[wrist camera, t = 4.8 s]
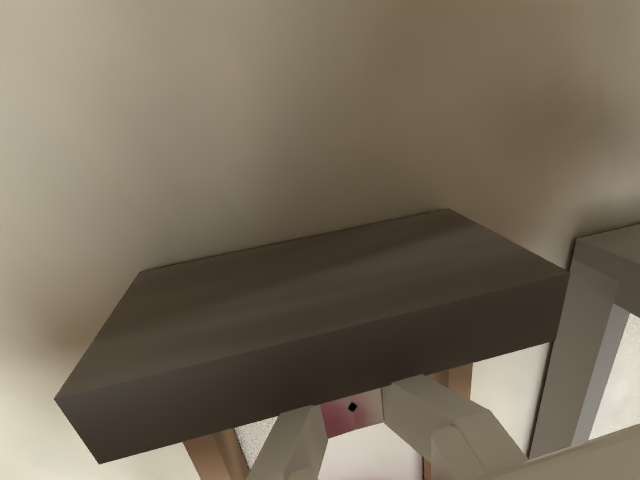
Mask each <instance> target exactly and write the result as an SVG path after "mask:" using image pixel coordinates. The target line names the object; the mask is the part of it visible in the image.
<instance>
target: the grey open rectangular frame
mask: <svg viewBox="0 0 640 480" xmlns="http://www.w3.org/2000/svg"><path fill="white" fill-rule="evenodd" d="M569 272H570V278H569V282H568V287H567V291H566V296H565V300H564V305H563V310H562V314H561V319H560V323H559V328H558V332H557V337H556V340H555V341H554V345H553V350H552V354H551V359H550V363H549V368H548V373H547V377H546V382H545V387H544V391H543V396H542V400H541V405H540V410H539V414H538V419H537V423H536V428H535V433H534V437H533V442H532V446H531V451H530V456H529V460H531V459H534V458H537V457H540V456H543V455H546V454H549V453H552V452H555V451H558V450H561V449H564V448H567V447H570V446H573V445H576V444H579V443H582V442H585V441H588V439H589V436H590V433H591V430H592V427H593V424H594V420H595V417H596V414H597V411H598V408H599V405H600V402H601V399H602V396H603V393H604V390H605V387H606V384H607V381H608V378H609V375H610V372H611V369H612V366H613V363H614V360H615V357H616V354H617V350H618V347H619V344H620V341H621V338H622V335H623V332H624V329H625V326H626V323H627V320H628V317H629V314H630V313H632V314H634V315H636V316H637V317H639V318H640V224H637V225H633V226H629V227H624V228H620V229H616V230H611V231H607V232H602V233H598V234H594V235H589V236H585V237H581V238H577V239H576V244H575V248H574V253H573V258H572V262H571V267H570V271H569Z"/></svg>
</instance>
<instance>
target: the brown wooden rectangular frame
mask: <svg viewBox="0 0 640 480" xmlns="http://www.w3.org/2000/svg"><path fill="white" fill-rule="evenodd" d="M569 278H570V272H568V271H566V270H564V269H563V268H561V267H559V266H557V265H555V264H553V263H551V262H549V261H547V260H545V259H544V258H542V257H540V256H538V255H536V254H534V253H532V252H530V251H528V250H527V249H525V248H523V247H521V246H519V245H517V244H515V243H513V242H511V241H509V240H508V239H506V238H504V237H502V236H500V235H498V234H496V233H494V232H492V231H491V230H489V229H487V228H485V227H483V226H481V225H479V224H477V223H475V222H473V221H472V220H470V219H468V218H466V217H464V216H462V215H460V214H458V213H456V212H454V211H453V210H451V209H449V208H448V209H443V210H438V211H434V212H429V213H424V214H419V215H414V216H409V217H404V218H400V219H395V220H390V221H385V222H380V223H375V224H370V225H366V226H361V227H356V228H351V229H346V230H341V231H336V232H332V233H327V234H322V235H317V236H312V237H307V238H302V239H297V240H293V241H288V242H283V243H278V244H273V245H268V246H263V247H259V248H254V249H249V250H244V251H239V252H234V253H229V254H225V255H220V256H215V257H210V258H205V259H200V260H195V261H191V262H186V263H181V264H176V265H171V266H166V267H161V268H157V269H152V270H147V271H142V272H139V274H138V275H137V277H136V278H135V280H134V281H133V283H132V284H131V286H130V287H129V289H128V290H127V292H126V293H125V295H124V296H123V298H122V299H121V300H120V302H119V303H118V305H117V306H116V308H115V309H114V311H113V312H112V314H111V315H110V317H109V318H108V320H107V321H106V323H105V324H104V326H103V327H102V329H101V330H100V332H99V333H98V334H97V336H96V337H95V339H94V340H93V342H92V343H91V345H90V346H89V348H88V349H87V351H86V352H85V354H84V355H83V357H82V358H81V360H80V361H79V363H78V364H77V366H76V367H75V369H74V370H73V371H72V373H71V374H70V376H69V377H68V379H67V380H66V382H65V383H64V385H63V386H62V388H61V389H60V391H59V392H58V394H57V395H56V397H55V398H54V400H55V401H56V403H57V404H58V406H59V407H60V409H61V410H62V412H63V413H64V414H65V416H66V417H67V419H68V420H69V422H70V423H71V425H72V426H73V427H74V429H75V430H76V432H77V433H78V435H79V436H80V438H81V439H82V440H83V442H84V443H85V445H86V446H87V448H88V449H89V451H90V452H91V453H92V455H93V456H94V458H95V459H96V461H97V462H98V464H103V463H106V462H110V461H114V460H117V459H121V458H125V457H128V456H132V455H136V454H139V453H143V452H147V451H150V450H154V449H158V448H161V447H165V446H169V445H172V444H176V443H180V442H183V444H184V446H185V448H186V450H187V452H188V454H189V456H190V458H191V460H192V462H193V464H194V466H195V468H196V470H197V472H198V474H199V476H200V478H201V480H246V478H247V476H248V474H249V470H248V467H247V464H246V462H245V459H244V457H243V454H242V451H241V449H240V446H239V443H238V441H237V438H236V435H235V433H234V430H233V428H235V427H239V426H242V425H246V424H250V423H253V422H257V421H261V420H264V419H268V418H272V417H275V416H279V414H280V413H283V412H287V411H291V410H294V409H298V408H301V407H305V406H309V405H313V406H316V405H320V404H323V403H327V402H331V401H334V400H338V399H342V398H345V397H349V396H353V395H356V394H360V393H364V392H367V391H371V390H375V389H378V388H382V387H386V386H389V385H392V382H396V381H399V380H403V379H406V378H409V377H413V376H416V375H420V374H423V375H425V376H427V377H428V378H430V379H432V380H434V381H436V382H438V383H440V384H441V385H443V386H445V387H447V388H449V389H451V390H453V391H454V392H456V393H458V394H460V395H462V396H464V397H466V398H467V399H469V400H470V391H471V379H472V367H473V363H474V362H478V361H481V360H485V359H489V358H492V357H496V356H500V355H503V354H507V353H511V352H515V351H518V350H522V349H526V348H529V347H533V346H537V345H540V344H544V343H548V342H551V341H555V340H556V337H557V332H558V328H559V323H560V319H561V314H562V310H563V305H564V300H565V296H566V291H567V287H568V282H569ZM424 480H431V463H430V462H429V461H428V460H426V459H425V458H424Z"/></svg>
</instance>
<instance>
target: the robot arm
mask: <svg viewBox="0 0 640 480" xmlns="http://www.w3.org/2000/svg"><path fill="white" fill-rule="evenodd" d="M383 422H385V424H386V425H387V426H388V427H389V428H390V429H392V430H393V431H394V432H395V433H396V434H397V435H399V436H400V437H401V438H402V439H403V440H404V441H405V442H407V443H408V444H409V445H410V446H411V447H412V448H414V449H415V450H416V451H417V452H418V453H419V454H421V455H422V456H423V457H424V458H425V459H426V460H428V461H429V462H430V463H431V480H640V424H637V425H634V426H631V427H628V428H625V429H622V430H619V431H616V432H613V433H610V434H607V435H604V436H601V437H598V438H595V439H592V440H588V441H585V442H582V443H579V444H576V445H573V446H570V447H567V448H564V449H561V450H558V451H555V452H552V453H549V454H546V455H543V456H540V457H537V458H534V459H531V460H528V458H527V457H526V456H525V454H524V453H523V452H522V451H521V449H520V448H519V447H518V446H517V444H516V443H515V442H514V440H513V439H512V438H511V437H510V435H509V434H508V433H507V431H506V430H505V429H504V428H503V426H502V425H501V424H500V422H499V421H498V420H497V419H496V417H495V416H494V415H493V414H492V412H491V411H490V410H488V409H486V408H484V407H482V406H480V405H479V404H477V403H475V402H473V401H471V400H469V399H467V398H466V397H464V396H462V395H460V394H458V393H456V392H454V391H453V390H451V389H449V388H447V387H445V386H443V385H441V384H440V383H438V382H436V381H434V380H432V379H430V378H428V377H427V376H425V375H423V374H420V375H416V376H413V377H409V378H406V379H403V380H399V381H396V382H392V385H389V386H386V387H382V388H378V389H375V390H371V391H367V392H364V393H360V394H356V395H353V396H349V397H345V398H342V399H338V400H334V401H331V402H327V403H323V404H320V405H316V406H313V405H309V406H305V407H301V408H298V409H294V410H291V411H287V412H283V413H280V414H279V416H278V418H277V420H276V422H275V424H274V426H273V428H272V430H271V432H270V433H269V435H268V437H267V439H266V441H265V443H264V445H263V447H262V449H261V451H260V453H259V455H258V457H257V459H256V460H255V462H254V464H253V466H252V468H251V470H250V472H249V474H248V476H247V478H246V480H318V474H319V471H320V467H321V464H322V460H323V457H324V453H325V450H326V446H327V443H328V439H329V438H332V437H335V436H338V435H341V434H344V433H347V432H350V431H353V430H356V429H360V428H364V427H367V426H371V425H375V424H379V423H383Z"/></svg>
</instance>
